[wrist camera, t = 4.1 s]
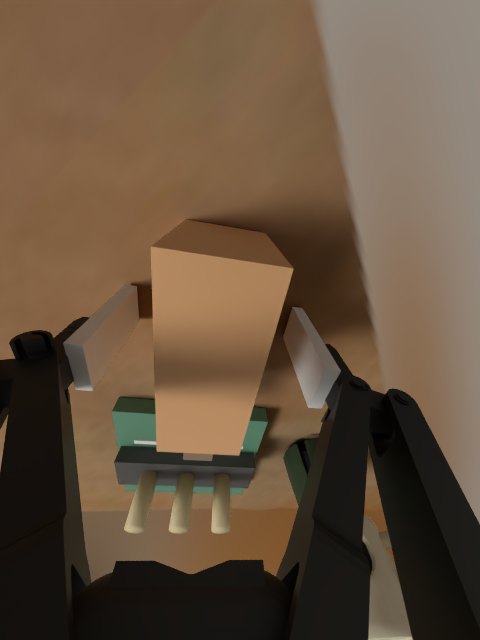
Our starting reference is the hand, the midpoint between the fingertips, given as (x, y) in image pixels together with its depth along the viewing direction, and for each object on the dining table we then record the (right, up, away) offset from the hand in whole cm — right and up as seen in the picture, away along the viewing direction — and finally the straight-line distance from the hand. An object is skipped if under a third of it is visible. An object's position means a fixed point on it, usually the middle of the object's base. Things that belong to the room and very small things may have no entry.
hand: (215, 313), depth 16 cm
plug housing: (0, -1, +1) cm, 1 cm away
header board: (-4, -14, +8) cm, 17 cm away
